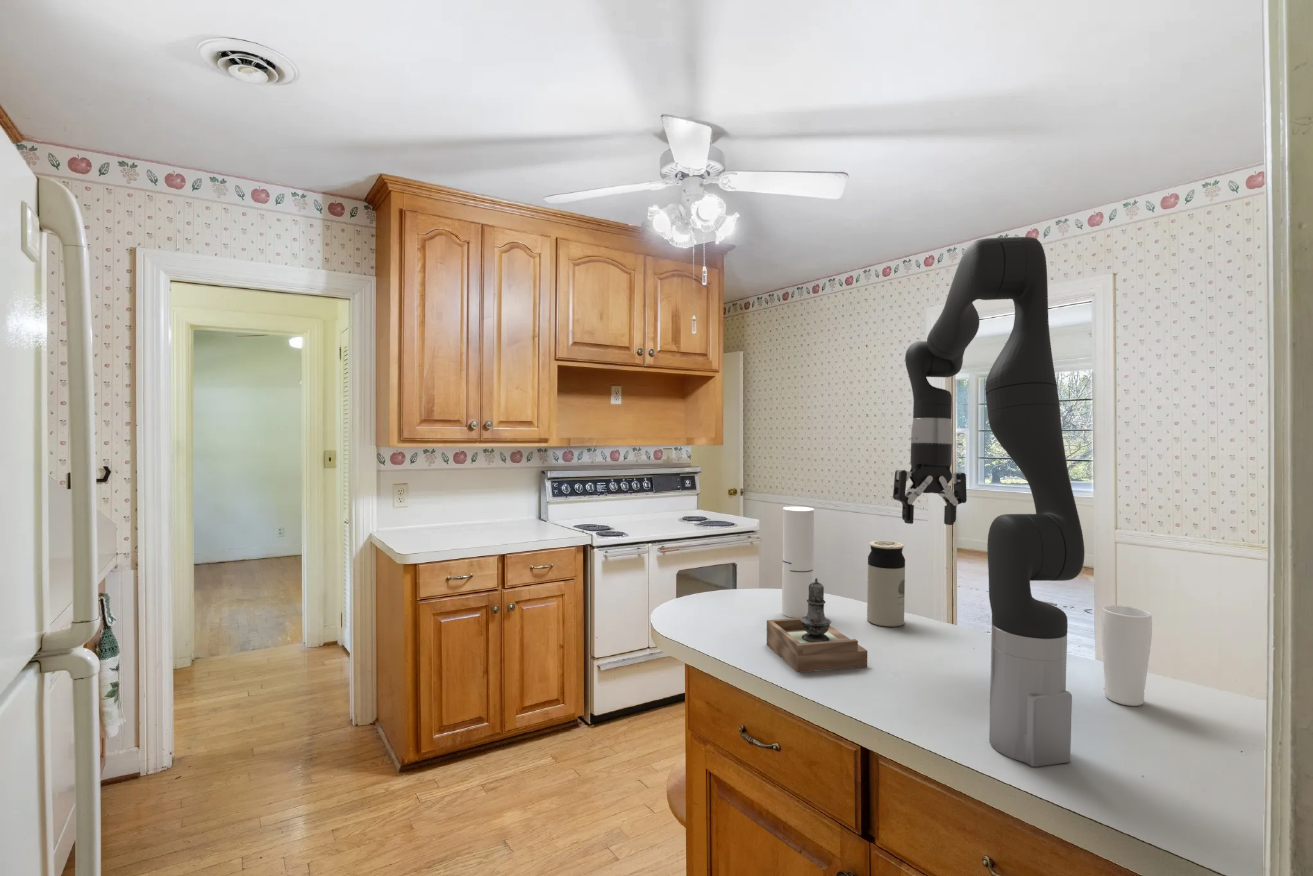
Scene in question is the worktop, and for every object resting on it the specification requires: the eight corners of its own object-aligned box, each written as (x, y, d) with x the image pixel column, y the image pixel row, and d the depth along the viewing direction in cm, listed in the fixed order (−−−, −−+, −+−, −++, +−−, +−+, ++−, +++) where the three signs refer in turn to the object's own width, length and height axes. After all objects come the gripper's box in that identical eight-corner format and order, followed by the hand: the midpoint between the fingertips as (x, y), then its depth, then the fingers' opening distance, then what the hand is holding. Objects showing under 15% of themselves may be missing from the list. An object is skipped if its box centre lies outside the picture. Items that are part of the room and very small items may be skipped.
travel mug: (859, 620, 149) (860, 542, 148) (880, 614, 154) (881, 538, 153) (890, 630, 143) (891, 548, 142) (911, 623, 147) (912, 544, 147)
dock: (867, 666, 122) (867, 640, 122) (797, 672, 119) (798, 645, 119) (829, 639, 137) (829, 615, 136) (766, 644, 134) (766, 620, 133)
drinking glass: (1146, 697, 109) (1149, 608, 108) (1152, 713, 103) (1155, 619, 103) (1097, 688, 112) (1100, 602, 112) (1100, 703, 107) (1103, 612, 106)
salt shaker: (831, 644, 124) (832, 582, 124) (800, 642, 125) (801, 580, 125) (830, 634, 130) (830, 575, 130) (800, 632, 131) (800, 573, 131)
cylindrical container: (794, 607, 159) (795, 505, 158) (819, 614, 154) (820, 509, 153) (775, 612, 155) (776, 508, 154) (799, 620, 149) (801, 511, 148)
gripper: (907, 439, 124) (905, 525, 124) (976, 443, 126) (974, 527, 126) (888, 440, 131) (885, 521, 131) (953, 443, 134) (951, 523, 133)
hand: (928, 524), depth 128 cm, fingers open, 8 cm apart
